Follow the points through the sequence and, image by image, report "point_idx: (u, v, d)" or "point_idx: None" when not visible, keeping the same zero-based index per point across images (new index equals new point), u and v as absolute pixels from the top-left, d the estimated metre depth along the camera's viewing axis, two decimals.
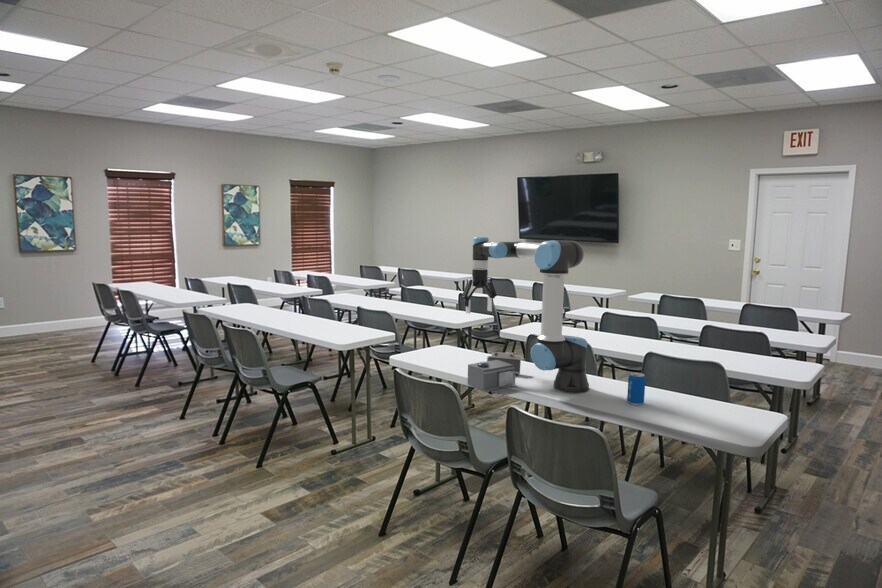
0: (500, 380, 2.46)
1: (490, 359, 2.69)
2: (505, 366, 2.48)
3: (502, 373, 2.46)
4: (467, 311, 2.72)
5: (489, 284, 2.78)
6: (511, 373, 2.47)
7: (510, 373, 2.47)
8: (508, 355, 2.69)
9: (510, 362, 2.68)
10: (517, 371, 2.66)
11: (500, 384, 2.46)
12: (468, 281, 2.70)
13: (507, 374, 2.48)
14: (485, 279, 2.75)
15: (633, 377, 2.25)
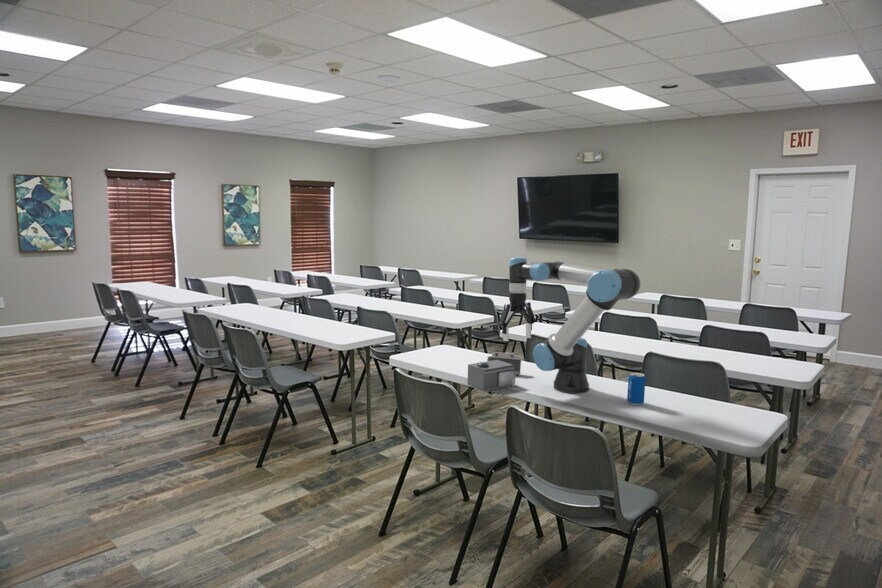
0: (500, 380, 2.46)
1: (491, 359, 2.69)
2: (505, 366, 2.48)
3: (502, 373, 2.46)
4: (505, 339, 2.49)
5: (527, 308, 2.55)
6: (511, 373, 2.47)
7: (510, 373, 2.47)
8: (508, 355, 2.69)
9: (510, 362, 2.68)
10: (517, 371, 2.66)
11: (500, 384, 2.46)
12: (505, 306, 2.48)
13: (507, 374, 2.48)
14: (523, 303, 2.52)
15: (633, 377, 2.25)
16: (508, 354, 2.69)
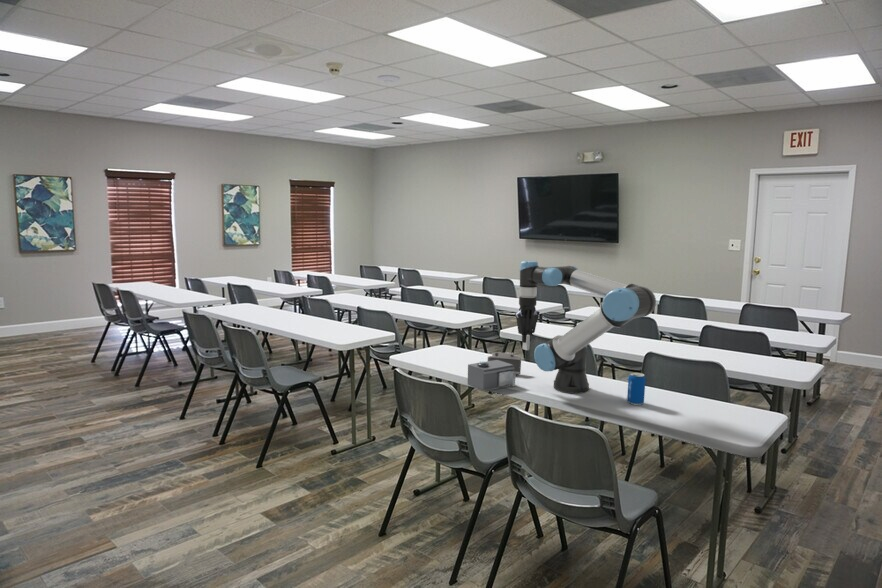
0: (500, 380, 2.46)
1: (491, 359, 2.69)
2: (505, 366, 2.48)
3: (502, 373, 2.46)
4: (524, 347, 2.48)
5: (533, 317, 2.49)
6: (511, 373, 2.47)
7: (510, 373, 2.47)
8: (508, 355, 2.69)
9: (511, 362, 2.68)
10: (518, 371, 2.66)
11: (500, 384, 2.46)
12: (517, 316, 2.43)
13: (507, 374, 2.48)
14: (534, 307, 2.47)
15: (633, 377, 2.25)
16: (508, 354, 2.69)
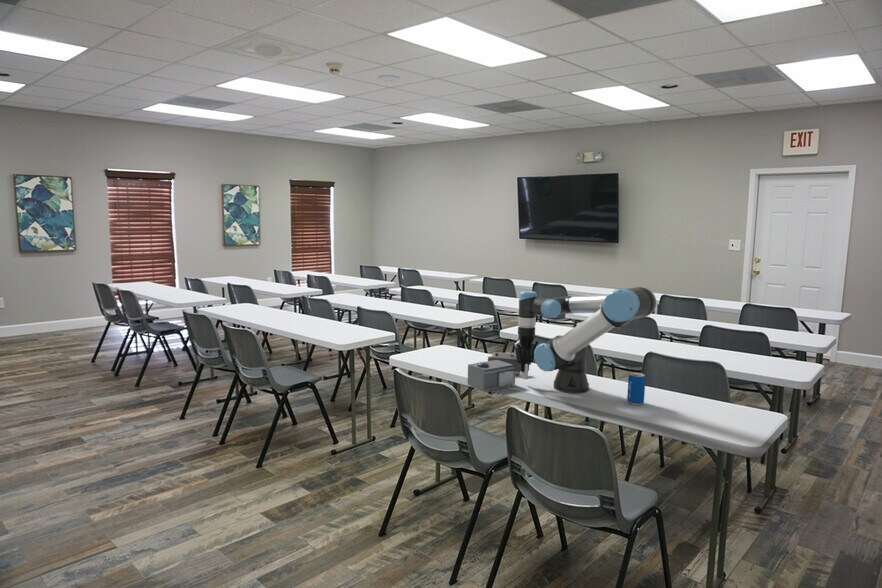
0: (500, 380, 2.46)
1: (491, 360, 2.69)
2: (505, 366, 2.48)
3: (502, 373, 2.46)
4: (523, 377, 2.50)
5: (532, 346, 2.51)
6: (511, 373, 2.47)
7: (510, 373, 2.47)
8: (509, 355, 2.69)
9: (511, 362, 2.68)
10: (518, 371, 2.66)
11: (500, 384, 2.46)
12: (515, 346, 2.45)
13: (507, 374, 2.48)
14: (533, 337, 2.49)
15: (633, 377, 2.25)
16: (508, 354, 2.69)
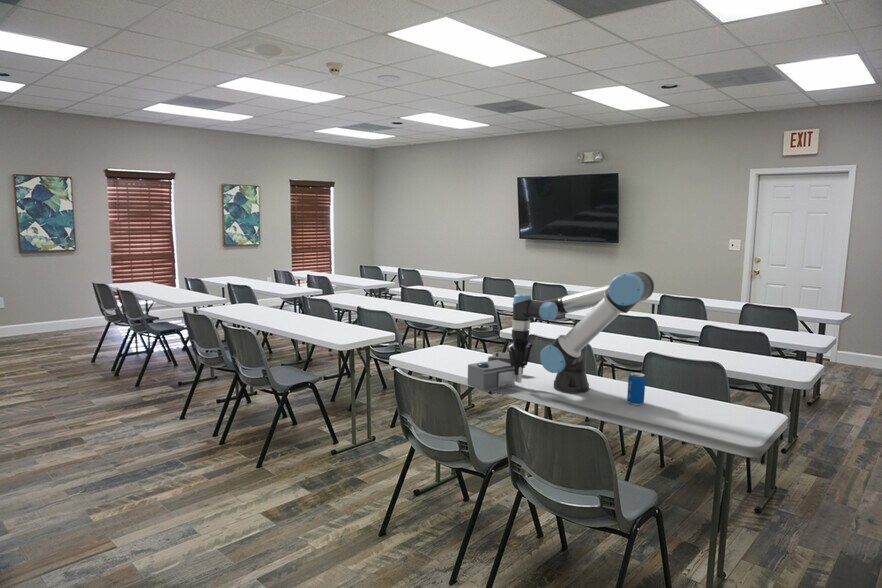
0: (499, 380, 2.45)
1: (491, 360, 2.69)
2: (505, 366, 2.48)
3: (501, 373, 2.46)
4: (517, 380, 2.48)
5: (526, 349, 2.49)
6: (510, 373, 2.47)
7: (509, 373, 2.47)
8: None
9: None
10: None
11: (499, 384, 2.46)
12: (509, 349, 2.43)
13: (506, 374, 2.47)
14: (527, 340, 2.47)
15: (633, 377, 2.25)
16: (508, 354, 2.69)
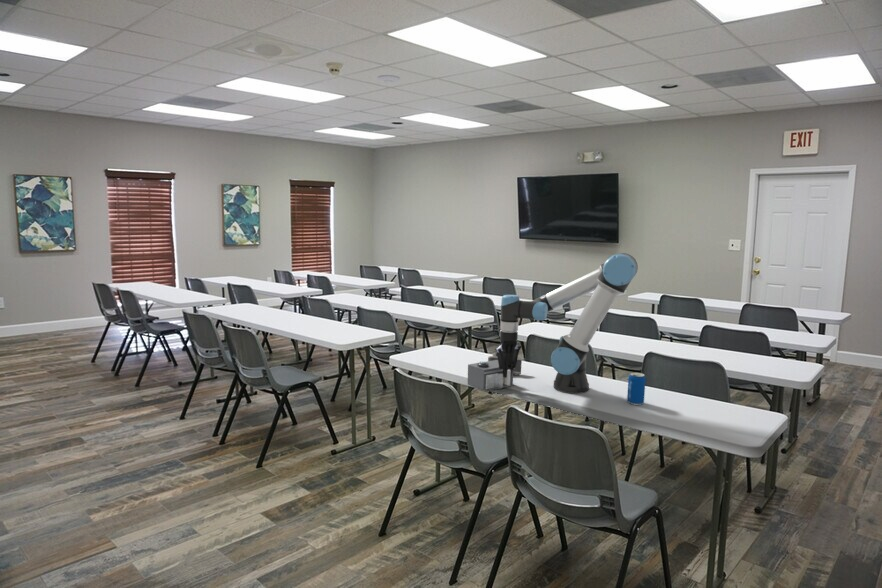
0: (487, 382, 2.42)
1: (491, 360, 2.68)
2: None
3: (489, 375, 2.42)
4: (505, 382, 2.44)
5: (515, 351, 2.45)
6: (499, 375, 2.43)
7: (498, 375, 2.43)
8: None
9: None
10: (518, 371, 2.66)
11: (487, 386, 2.42)
12: (497, 351, 2.39)
13: (494, 376, 2.43)
14: (515, 342, 2.43)
15: (633, 377, 2.25)
16: None
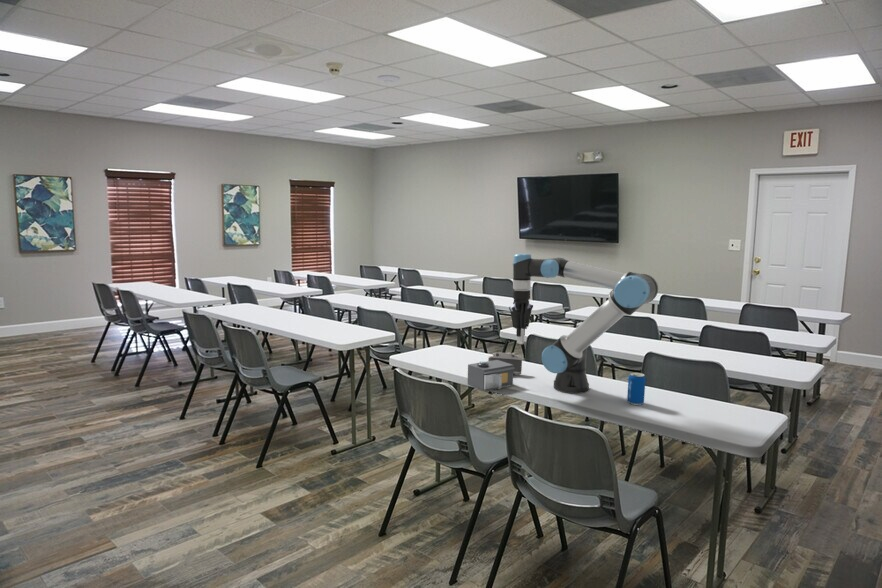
0: (486, 383, 2.41)
1: (492, 360, 2.68)
2: (505, 366, 2.48)
3: (488, 376, 2.41)
4: (519, 341, 2.45)
5: (527, 310, 2.46)
6: (497, 376, 2.42)
7: (496, 376, 2.43)
8: (509, 355, 2.69)
9: (511, 362, 2.67)
10: (519, 371, 2.66)
11: (486, 387, 2.41)
12: (511, 309, 2.40)
13: (493, 377, 2.43)
14: (528, 301, 2.44)
15: (633, 377, 2.25)
16: (509, 354, 2.69)
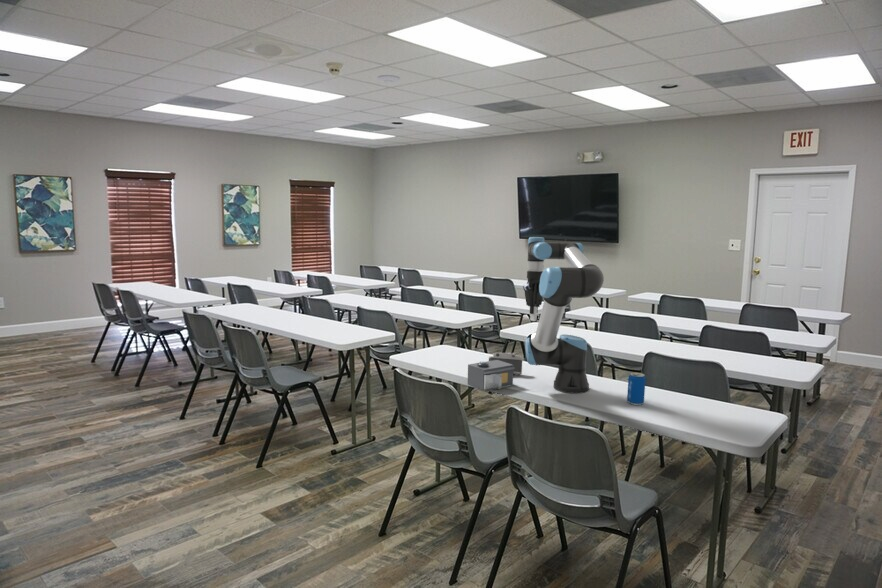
0: (486, 383, 2.41)
1: (492, 360, 2.68)
2: (505, 366, 2.48)
3: (488, 376, 2.41)
4: (532, 318, 2.64)
5: None
6: (497, 376, 2.42)
7: (496, 376, 2.43)
8: (510, 355, 2.69)
9: (512, 362, 2.67)
10: (519, 371, 2.66)
11: (486, 387, 2.41)
12: (525, 288, 2.59)
13: (493, 377, 2.43)
14: None
15: (633, 377, 2.25)
16: (509, 354, 2.69)
